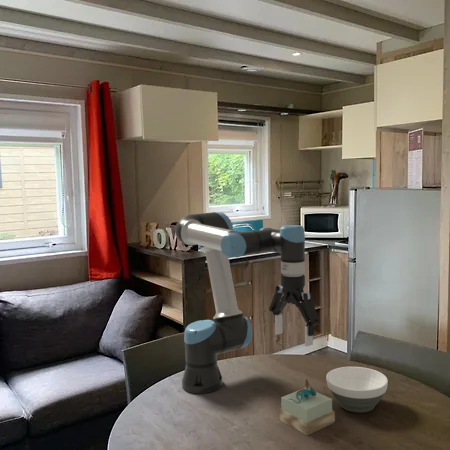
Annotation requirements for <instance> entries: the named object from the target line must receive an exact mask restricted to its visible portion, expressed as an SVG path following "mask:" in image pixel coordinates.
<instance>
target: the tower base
mask: <svg viewBox="0 0 450 450" xmlns="http://www.w3.org/2000/svg"><path fill="white" fill-rule="evenodd" d="M335 413H336V411H335V410H333V409H332V412H330V413H328V414H325V415H323V416H321V417H319V418H317V419H315V420H312V421H310V422H308V423H306V422H304V421H302V420H300V419H299V418H297V417H295V416H293V415H291V414H289V413H287V412H285V411H283V410H282V408H279V421H281V422H283V423H284V424H286V425H288V426H290V427H291V428H293V429H295V430H297V431H299V432H300V433H302V434H304V435H306V436H309V435H311V434H313V433H315V432H317V431H319V430H322V429H323V428H326V427H328V426H330V425H333V424H335V423H336V414H335Z"/></svg>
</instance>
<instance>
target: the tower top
mask: <svg viewBox="0 0 450 450" xmlns="http://www.w3.org/2000/svg"><path fill="white" fill-rule="evenodd" d="M302 389H307V388H306V387H304V388H301V389H299V390H296V391H294V392H290V393H289V394H287V395H284V396H282V397H280V398H281V399H280V400H281V401H280V403H281V404H280V407H281V408H280V409H282V410H283V411H285V412H287V413H289V414H291V415H293V416H295V417H297V418H299V419H300V420H302V421H304V422H306V423H308V422H310V421H312V420H315V419H317V418H319V417H321V416H323V415H325V414H328V413H330V412H332V410H333V398H331V397H329V396H327V395H324V394H321V393H319V392H318V391H316V396H312V395H310V396H309V397H308V399H306V397H303V398H302V400H301V395H299V396H298V398H299V400H300V403H299V400H298V399H297V398H296V393H297V392H298V391H300V390H302ZM308 389H309V390H310V389H311V388H308ZM288 399H289V400H288ZM291 399H293V400H295V401H296V402H298V403H296V402H295V401H293V400H291Z"/></svg>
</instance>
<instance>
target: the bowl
mask: <svg viewBox="0 0 450 450" xmlns="http://www.w3.org/2000/svg"><path fill="white" fill-rule="evenodd" d="M325 378H326V384H327V388H328V389H329V390H330V392H331V394H332V396H333V397H334V399H335V400H336V401H337V402H338V404H339V405H340V407H341V408H342V409H343V410H345V411H348V412H351V413H358V414H365V413H368V412H369V413H370V412H372V411H373V410H374V409H375V407H376V405H378V403H379V402H380V401H381V399H382V397H383V396H384V395H385V394H386V392H387V389H388V385H389V384H388V383H389V382H388V381H389V380H388V378H387V376H386V375H385V374H383V373H382V372H380V371H378V370H375V369H372V368H368V367H362V366H342V367H337V368H334V369H331V370H330V371H328V372H327V374H326V376H325Z"/></svg>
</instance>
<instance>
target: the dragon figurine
mask: <svg viewBox="0 0 450 450" xmlns="http://www.w3.org/2000/svg"><path fill="white" fill-rule="evenodd" d="M304 385H305V388H307V389H303V388H301V389H302V390H301V389H299V390H300V391H298V390H297V391H298V392H297V393H296V398H297V399H298V400H299V398H298V396H299V395H301V400H302V398H303V397H306V399H308V397H309V396H310V395H312V396H316V392H317V390H315V389H314V388H313V387H312V386H311V384H310V381H308V379H307V378H306V379H305V384H304ZM309 387H310V388H309ZM309 389H310V390H309ZM288 400H289V399H288ZM291 400H293V399H291ZM293 401H295V400H293ZM295 402H296V401H295ZM296 403H298V402H296ZM299 403H300V400H299Z"/></svg>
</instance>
